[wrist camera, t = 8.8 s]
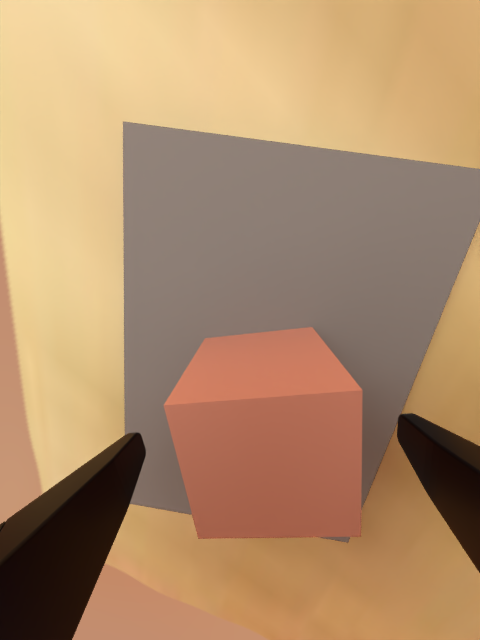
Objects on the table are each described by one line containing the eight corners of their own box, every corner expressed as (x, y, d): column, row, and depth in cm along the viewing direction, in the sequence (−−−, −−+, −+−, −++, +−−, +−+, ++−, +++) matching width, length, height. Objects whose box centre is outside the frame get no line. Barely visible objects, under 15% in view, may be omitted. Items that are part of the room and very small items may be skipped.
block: (317, 419, 11) (360, 536, 7) (221, 425, 12) (198, 538, 7) (312, 326, 10) (362, 389, 5) (204, 338, 11) (163, 405, 6)
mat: (344, 531, 14) (348, 542, 14) (130, 493, 15) (125, 502, 14) (483, 177, 9) (499, 171, 8) (131, 129, 9) (122, 121, 8)
